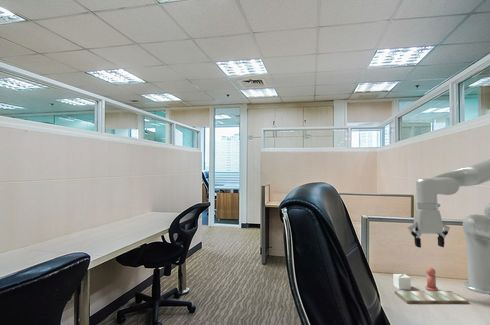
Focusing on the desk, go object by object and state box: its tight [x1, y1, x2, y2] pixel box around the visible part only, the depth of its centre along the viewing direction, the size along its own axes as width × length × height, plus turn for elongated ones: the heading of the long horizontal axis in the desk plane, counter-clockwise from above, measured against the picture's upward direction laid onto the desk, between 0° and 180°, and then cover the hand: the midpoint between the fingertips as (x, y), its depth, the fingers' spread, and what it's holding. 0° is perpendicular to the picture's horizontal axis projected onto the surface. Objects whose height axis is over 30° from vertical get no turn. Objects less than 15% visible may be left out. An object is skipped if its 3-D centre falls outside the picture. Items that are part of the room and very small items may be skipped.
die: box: [392, 273, 412, 290], centre depth 129 cm, size 5×5×5 cm
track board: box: [394, 290, 469, 305], centre depth 117 cm, size 23×10×1 cm, turn 88°
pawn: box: [425, 267, 439, 291], centre depth 126 cm, size 4×4×9 cm
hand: (429, 246), depth 127 cm, fingers open, 9 cm apart
